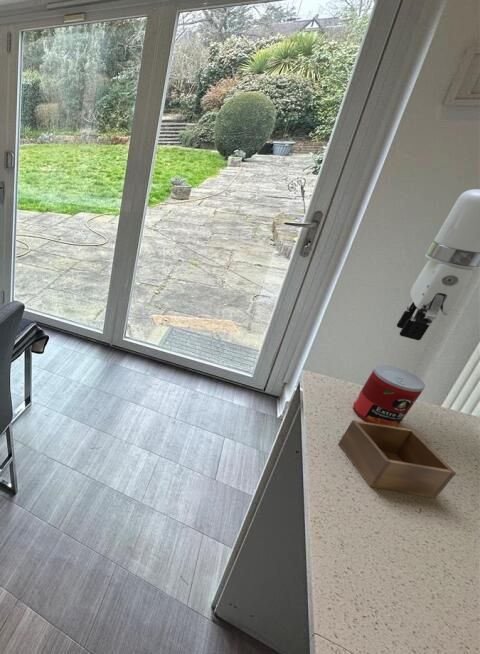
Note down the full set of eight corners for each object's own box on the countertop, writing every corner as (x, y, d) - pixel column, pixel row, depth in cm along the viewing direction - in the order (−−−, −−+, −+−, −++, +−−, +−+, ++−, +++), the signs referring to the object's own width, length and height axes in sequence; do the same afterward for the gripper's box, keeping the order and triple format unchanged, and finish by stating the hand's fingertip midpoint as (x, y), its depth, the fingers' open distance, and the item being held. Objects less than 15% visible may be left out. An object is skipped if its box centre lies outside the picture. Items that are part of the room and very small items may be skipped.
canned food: (364, 425, 87) (390, 385, 82) (343, 400, 94) (366, 361, 89) (407, 432, 85) (436, 392, 80) (382, 406, 92) (408, 367, 87)
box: (395, 453, 80) (412, 429, 77) (435, 498, 72) (456, 473, 69) (337, 443, 82) (352, 419, 79) (369, 486, 73) (387, 461, 70)
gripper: (497, 273, 72) (440, 357, 80) (472, 247, 84) (424, 323, 92) (437, 262, 76) (388, 343, 84) (421, 239, 88) (380, 312, 96)
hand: (407, 332), depth 88 cm, fingers open, 3 cm apart
